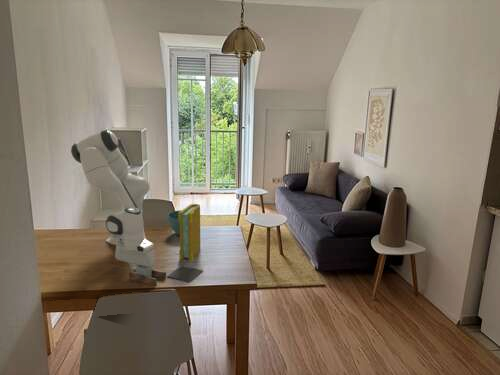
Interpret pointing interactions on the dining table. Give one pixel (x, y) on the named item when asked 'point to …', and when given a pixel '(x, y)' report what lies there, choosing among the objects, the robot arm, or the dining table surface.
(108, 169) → the robot arm
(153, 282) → the shelf slot
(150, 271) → the blank
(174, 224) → the plant pot
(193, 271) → the mat
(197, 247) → the book
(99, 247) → the dining table surface
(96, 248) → the dining table surface
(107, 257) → the dining table surface
